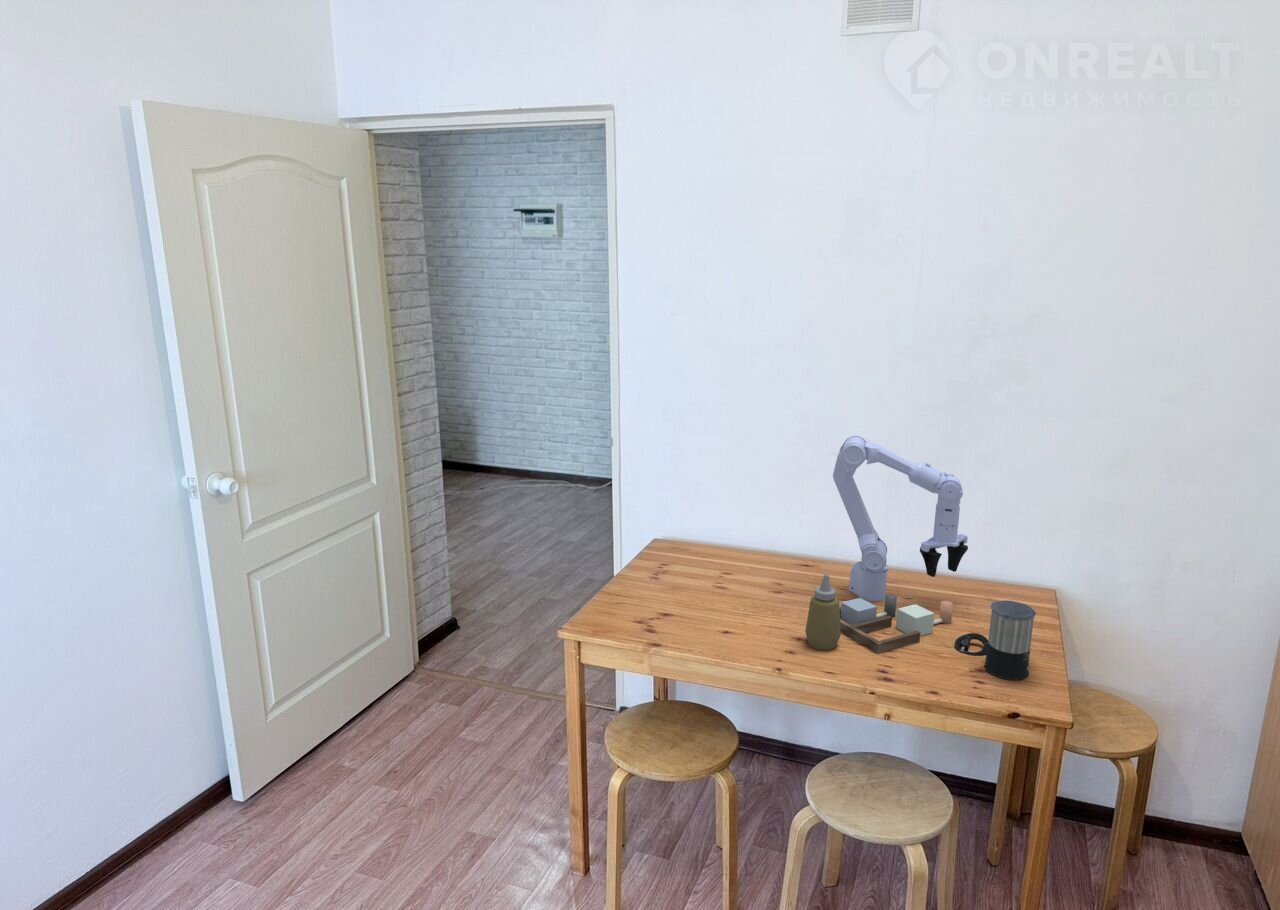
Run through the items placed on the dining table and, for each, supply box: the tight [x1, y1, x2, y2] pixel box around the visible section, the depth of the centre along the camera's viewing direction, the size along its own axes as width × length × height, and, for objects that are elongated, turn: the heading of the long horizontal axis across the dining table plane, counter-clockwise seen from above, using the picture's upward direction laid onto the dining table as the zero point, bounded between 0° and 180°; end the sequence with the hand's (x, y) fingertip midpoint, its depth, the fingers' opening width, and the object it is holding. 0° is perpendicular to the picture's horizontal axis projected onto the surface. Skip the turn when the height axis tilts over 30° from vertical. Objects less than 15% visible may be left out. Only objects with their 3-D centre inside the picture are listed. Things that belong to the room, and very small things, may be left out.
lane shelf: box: [839, 606, 921, 655], centre depth 201 cm, size 20×28×3 cm
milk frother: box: [954, 599, 1037, 681], centre depth 183 cm, size 14×16×15 cm
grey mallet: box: [840, 593, 898, 625], centre depth 204 cm, size 6×15×5 cm, turn 117°
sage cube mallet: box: [895, 599, 954, 637], centre depth 200 cm, size 6×15×5 cm, turn 117°
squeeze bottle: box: [804, 574, 841, 651], centre depth 190 cm, size 8×8×18 cm
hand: (941, 572), depth 212 cm, fingers open, 7 cm apart
